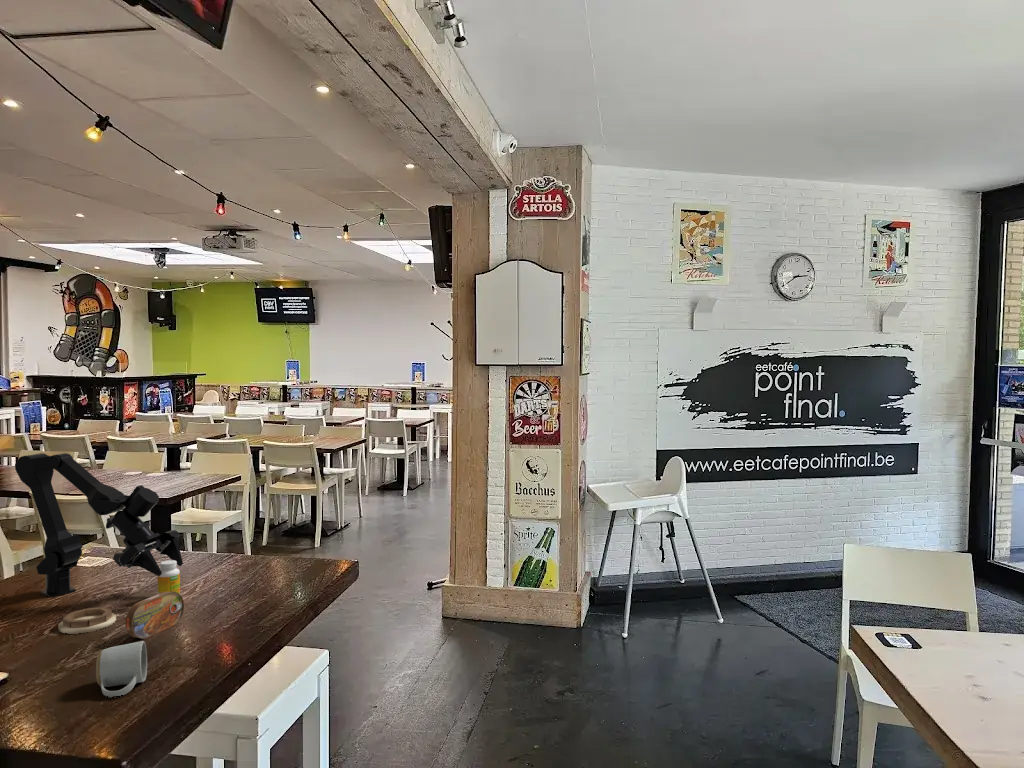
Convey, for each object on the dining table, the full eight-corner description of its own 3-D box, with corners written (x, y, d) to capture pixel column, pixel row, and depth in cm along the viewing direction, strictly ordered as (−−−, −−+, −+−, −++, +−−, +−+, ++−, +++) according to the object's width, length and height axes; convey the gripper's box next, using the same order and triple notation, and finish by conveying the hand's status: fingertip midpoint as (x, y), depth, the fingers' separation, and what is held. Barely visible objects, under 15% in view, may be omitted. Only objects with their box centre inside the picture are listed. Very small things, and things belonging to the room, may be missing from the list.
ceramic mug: (102, 678, 142) (101, 640, 142) (148, 672, 145) (147, 635, 145) (91, 702, 132) (90, 662, 132) (140, 695, 135) (139, 655, 135)
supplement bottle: (171, 601, 189) (170, 565, 188) (153, 600, 190) (152, 564, 189) (184, 595, 194) (183, 559, 194) (167, 594, 195) (166, 558, 195)
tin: (133, 644, 160) (132, 607, 160) (123, 642, 161) (122, 605, 161) (185, 621, 174) (184, 587, 174) (175, 620, 175) (174, 586, 175)
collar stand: (49, 626, 171) (49, 616, 171) (101, 612, 180) (101, 602, 180) (72, 637, 164) (72, 627, 164) (125, 622, 173) (125, 612, 173)
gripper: (137, 540, 203) (173, 579, 202) (89, 557, 185) (129, 601, 183) (162, 513, 202) (198, 553, 200) (116, 528, 183) (156, 572, 182)
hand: (171, 569), depth 191 cm, fingers open, 9 cm apart
